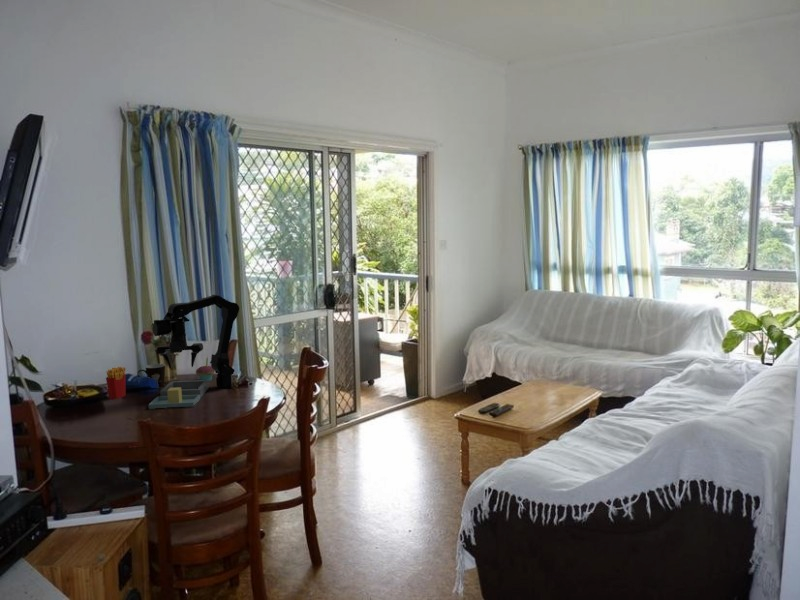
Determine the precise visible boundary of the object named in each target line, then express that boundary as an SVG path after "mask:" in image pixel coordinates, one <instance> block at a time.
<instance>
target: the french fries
mask: <svg viewBox="0 0 800 600" xmlns="http://www.w3.org/2000/svg"><path fill="white" fill-rule="evenodd" d="M106 376H107V377H105V381H106V385H107V391H108V397H109V399H110V400H115V399H116V400H117V399H121V398H122V397H123V398H124V397H126V367H123V366H117V367H115V366H114V367H112V368H111V369H107V371H106Z"/></svg>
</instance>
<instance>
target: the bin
mask: <svg viewBox="0 0 800 600" xmlns="http://www.w3.org/2000/svg"><path fill="white" fill-rule="evenodd" d="M177 387H181V391H182V395H200V398H202V396H203V395H204V394H205V393H206V392H207V390H208V389H210V381H209V380H199V379H197V380H180V381H179V380H177V381H170V382H168V383H167V385H164V387H162V389H161V390H160V391H159V396H168V394H167V390H168V389H170V388H177ZM197 388H198V389H197Z"/></svg>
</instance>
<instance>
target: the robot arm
mask: <svg viewBox="0 0 800 600" xmlns="http://www.w3.org/2000/svg"><path fill="white" fill-rule="evenodd" d="M238 304H239V303H236V302H234V301H233V302H232V301H229V300H228V299H226V298H223V297H222V296H220V295H219V294H211V295H209V296H206V297H202V298H199V299H195V300H193V301H192V300H191V301H188V302H178V303H172V304H170V305H169V306H168V307H167V308H168V309H167V312H166V313H165V315H164V317H163V319H154V320H153V324H152V328H151V330H152V334H153V336H155V337H159V336H166V335H170V334H171V339H170V340H171V341H170V342H169V344H160V345H159V346H157V347H156V355H160V356H161V357H163V358H164V359H165V361H166V363H167V365H168V367H169V369H172V359H171V358H172V357H171V354H174V353H178V354H179V353H182V352H183V351H191V352H190V355H191V359H190V360H191V363H190V365H191V368H194V365H195V363H196V362H195V361H196V358H197V355H198V354H199V353H200V352H202V351H203V350H204V344H203V342H202V343H201V342H197V343H196V342H195V343H193V344H191V345H188V342H187V332H186V322H190V319H189V318H187V315H189V314H191V313H192V312H194V311H197V310H200V309H203V308H207V307H210V306H214V305H215V306H216V308H217V307H218V308H219V309H220V311H221V313H220V315H221V319H222V322H221V329H220V334H219V338H218V339H219V340H218V344H217V351H216V353H215V354H213V353H212V354H211V356H210V357H211V360H210V362H209V364H210V367H212V368H213V369H214V370H215V371H214V373H216V375H217V376H216V378H215V381H216V382H215V383H216V388H217V389H232V388H233V386H232V383H233V384H234V382H233V375H234V374H235V368H233V367H232V366H230V357H229V347H230V342H231V337H232V332H233V325H234V322H235V320H236V319H237V317H238V315H239V313H240V306H239V305H238ZM231 387H232V388H231Z"/></svg>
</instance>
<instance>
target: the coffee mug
mask: <svg viewBox="0 0 800 600" xmlns="http://www.w3.org/2000/svg"><path fill="white" fill-rule="evenodd" d="M160 364H161V365H160ZM140 372H144V373H145V374H146V377H147V378H148V377H150V378H153V379H156V380H157V381H158V384H159V387H162V388H164V387H165V375H166V364H165V363H154V364H148V365H146V366H145V369H139V370H138V371H137V377H138V378H139V377H141V376H140V375H139V373H140ZM163 386H164V387H163Z"/></svg>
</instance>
